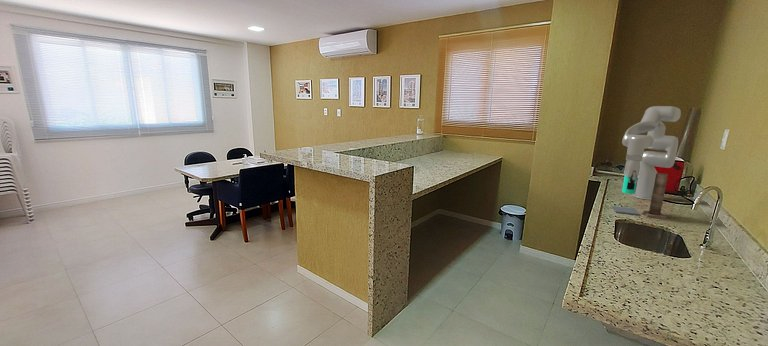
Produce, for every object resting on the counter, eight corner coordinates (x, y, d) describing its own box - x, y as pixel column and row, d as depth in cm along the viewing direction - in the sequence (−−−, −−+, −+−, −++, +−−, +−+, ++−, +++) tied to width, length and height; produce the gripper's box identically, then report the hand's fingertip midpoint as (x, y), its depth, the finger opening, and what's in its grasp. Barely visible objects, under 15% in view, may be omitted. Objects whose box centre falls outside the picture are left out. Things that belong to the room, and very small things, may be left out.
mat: (612, 207, 196) (612, 205, 195) (633, 209, 191) (634, 208, 191) (615, 212, 186) (616, 211, 186) (638, 215, 181) (639, 214, 181)
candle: (637, 193, 183) (640, 173, 180) (626, 193, 183) (630, 173, 180) (629, 190, 189) (632, 171, 186) (619, 191, 189) (622, 171, 186)
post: (643, 212, 186) (650, 172, 180) (660, 214, 182) (668, 173, 177) (647, 217, 179) (655, 175, 173) (665, 219, 175) (674, 176, 170)
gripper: (622, 155, 190) (618, 183, 194) (630, 159, 175) (624, 191, 179) (638, 155, 187) (632, 185, 191) (646, 160, 172) (641, 192, 176)
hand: (629, 187), depth 185 cm, fingers closed on candle, 4 cm apart
